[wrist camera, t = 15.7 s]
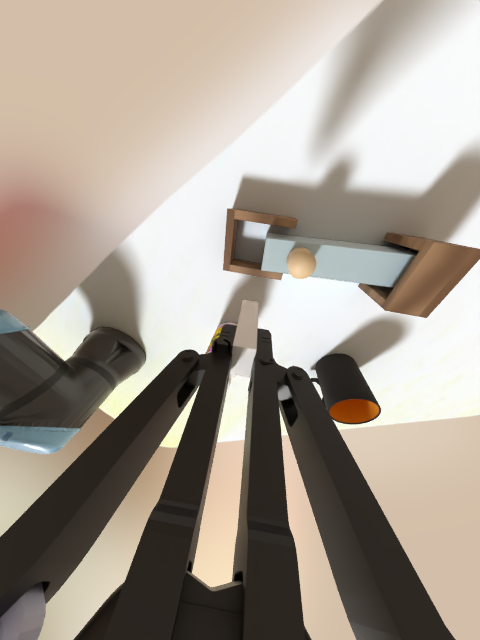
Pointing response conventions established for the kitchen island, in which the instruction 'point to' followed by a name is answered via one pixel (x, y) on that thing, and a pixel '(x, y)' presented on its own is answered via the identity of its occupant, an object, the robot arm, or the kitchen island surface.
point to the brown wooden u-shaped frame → (230, 241)
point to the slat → (335, 260)
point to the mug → (345, 390)
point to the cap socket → (424, 275)
